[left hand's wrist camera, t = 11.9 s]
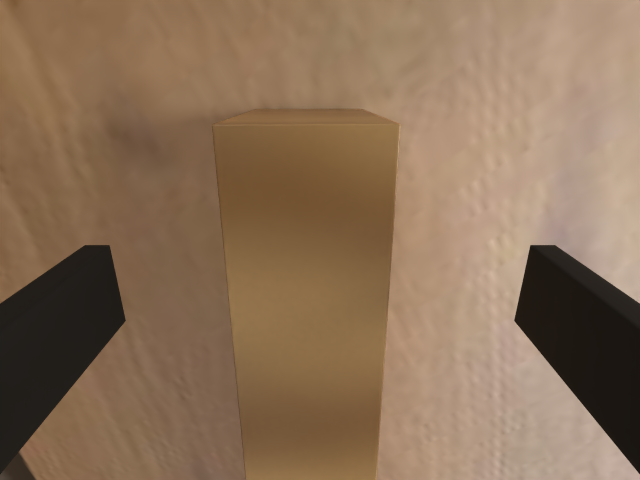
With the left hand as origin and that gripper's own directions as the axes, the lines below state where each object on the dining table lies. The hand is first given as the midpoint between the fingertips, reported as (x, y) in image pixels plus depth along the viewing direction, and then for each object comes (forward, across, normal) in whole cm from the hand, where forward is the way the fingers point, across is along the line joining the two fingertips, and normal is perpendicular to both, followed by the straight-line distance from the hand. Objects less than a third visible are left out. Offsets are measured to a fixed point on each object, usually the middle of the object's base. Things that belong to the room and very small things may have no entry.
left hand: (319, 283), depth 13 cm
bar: (+8, 0, -23) cm, 24 cm away
